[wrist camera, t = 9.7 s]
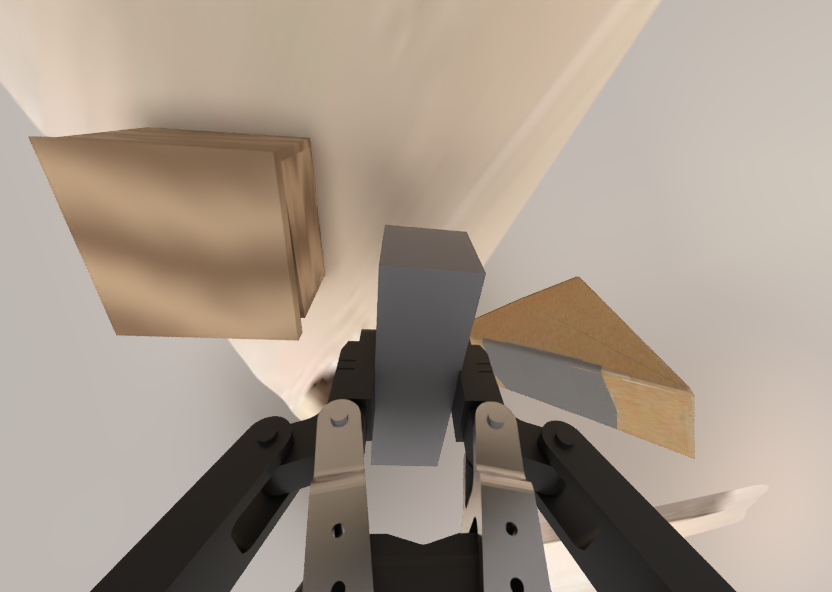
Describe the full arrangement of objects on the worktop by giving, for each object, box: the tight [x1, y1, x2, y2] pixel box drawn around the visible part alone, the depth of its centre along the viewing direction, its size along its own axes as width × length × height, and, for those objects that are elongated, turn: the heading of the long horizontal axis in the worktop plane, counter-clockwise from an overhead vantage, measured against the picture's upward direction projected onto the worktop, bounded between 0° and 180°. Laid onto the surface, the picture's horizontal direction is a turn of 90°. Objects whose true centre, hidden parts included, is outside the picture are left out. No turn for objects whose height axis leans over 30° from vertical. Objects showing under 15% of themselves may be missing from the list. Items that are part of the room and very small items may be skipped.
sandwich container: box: [470, 277, 695, 459], centre depth 29 cm, size 9×15×15 cm, turn 118°
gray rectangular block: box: [371, 225, 486, 466], centre depth 13 cm, size 10×3×3 cm, turn 174°
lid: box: [29, 137, 302, 340], centre depth 20 cm, size 12×12×1 cm
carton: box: [58, 128, 325, 318], centre depth 24 cm, size 12×12×7 cm
